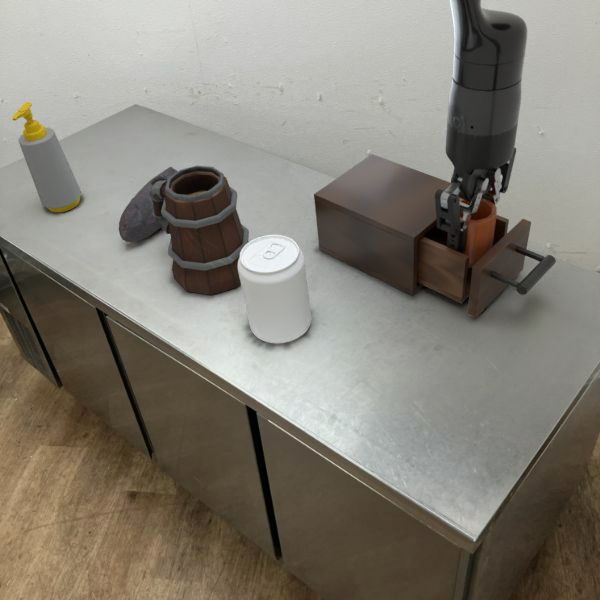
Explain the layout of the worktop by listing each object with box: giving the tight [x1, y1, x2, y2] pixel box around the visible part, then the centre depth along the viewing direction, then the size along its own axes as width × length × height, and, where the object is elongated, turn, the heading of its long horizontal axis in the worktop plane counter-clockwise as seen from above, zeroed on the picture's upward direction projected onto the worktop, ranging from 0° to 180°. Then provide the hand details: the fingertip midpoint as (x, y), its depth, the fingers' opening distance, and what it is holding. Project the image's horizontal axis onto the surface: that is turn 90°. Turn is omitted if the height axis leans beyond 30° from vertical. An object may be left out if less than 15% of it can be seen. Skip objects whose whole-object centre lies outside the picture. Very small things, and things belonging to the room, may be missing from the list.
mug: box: [149, 165, 250, 296], centre depth 91 cm, size 16×12×15 cm
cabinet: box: [313, 153, 460, 297], centre depth 91 cm, size 17×13×10 cm
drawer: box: [417, 214, 557, 319], centre depth 84 cm, size 20×12×8 cm, turn 47°
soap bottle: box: [11, 101, 82, 213], centre depth 106 cm, size 7×7×18 cm
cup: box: [447, 197, 498, 268], centre depth 81 cm, size 6×6×7 cm
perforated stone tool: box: [118, 166, 179, 243], centre depth 102 cm, size 15×5×7 cm, turn 147°
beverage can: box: [238, 234, 312, 344], centre depth 81 cm, size 8×8×12 cm
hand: (470, 238), depth 82 cm, fingers closed on cup, 5 cm apart
